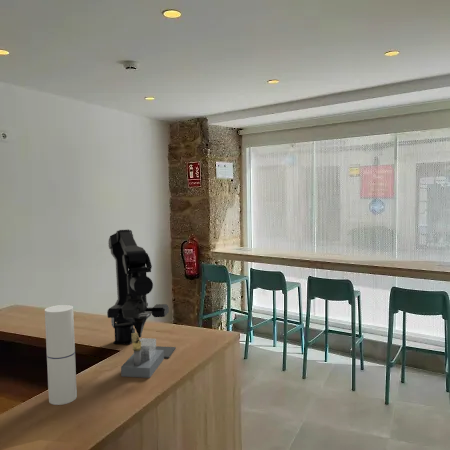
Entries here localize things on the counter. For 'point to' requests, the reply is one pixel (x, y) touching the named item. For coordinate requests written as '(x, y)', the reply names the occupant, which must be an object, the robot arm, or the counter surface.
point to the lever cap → (147, 348)
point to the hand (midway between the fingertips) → (139, 337)
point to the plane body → (141, 365)
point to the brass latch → (136, 342)
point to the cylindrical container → (60, 354)
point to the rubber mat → (166, 350)
